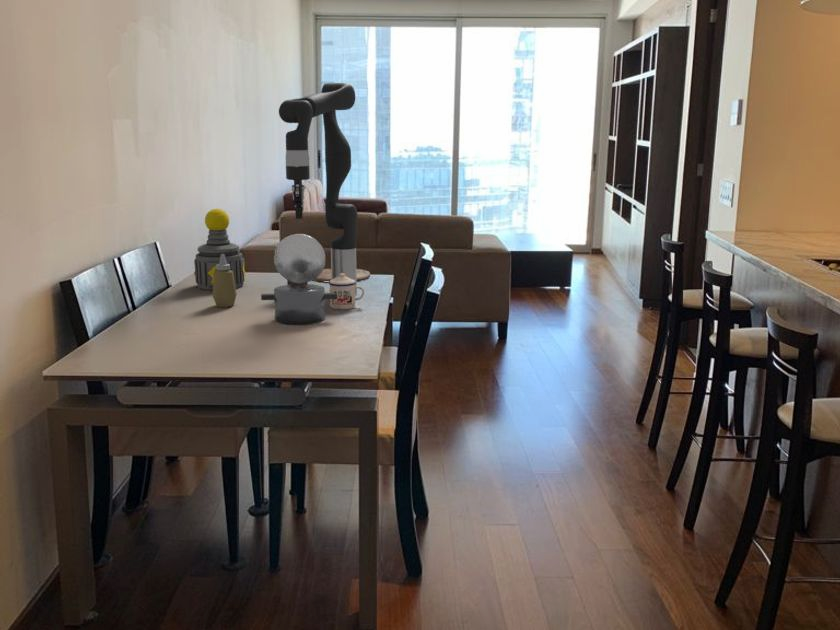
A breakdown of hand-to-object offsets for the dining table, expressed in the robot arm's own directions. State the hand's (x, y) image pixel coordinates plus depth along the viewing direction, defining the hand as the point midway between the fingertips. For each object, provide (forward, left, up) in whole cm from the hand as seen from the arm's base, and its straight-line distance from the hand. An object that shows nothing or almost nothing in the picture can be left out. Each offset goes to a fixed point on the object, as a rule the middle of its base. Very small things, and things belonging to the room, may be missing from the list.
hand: (299, 218), depth 262 cm
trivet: (-64, +12, -32) cm, 72 cm away
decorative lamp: (-48, -34, -32) cm, 67 cm away
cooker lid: (+3, 0, -13) cm, 13 cm away
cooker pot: (+10, 0, -31) cm, 33 cm away
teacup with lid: (-7, +15, -32) cm, 36 cm away
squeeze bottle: (-12, -27, -32) cm, 43 cm away
